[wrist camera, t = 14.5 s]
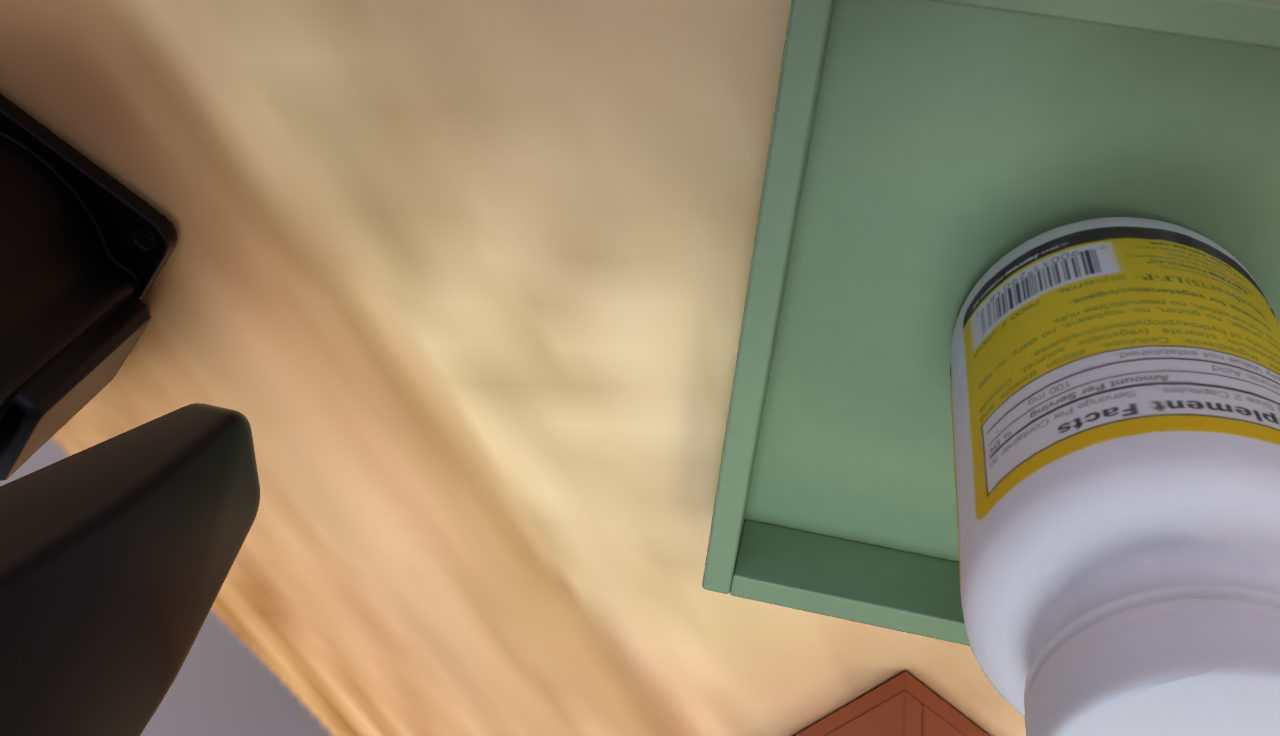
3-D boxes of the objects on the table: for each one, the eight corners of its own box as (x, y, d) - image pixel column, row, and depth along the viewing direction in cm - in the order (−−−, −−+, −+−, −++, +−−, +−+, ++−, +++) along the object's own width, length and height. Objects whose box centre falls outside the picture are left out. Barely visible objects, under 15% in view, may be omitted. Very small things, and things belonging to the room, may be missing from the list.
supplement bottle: (1194, 486, 22) (1344, 987, 14) (916, 422, 22) (908, 869, 14) (1328, 242, 19) (1619, 711, 11) (1001, 175, 19) (1050, 574, 11)
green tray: (718, 515, 26) (700, 589, 24) (814, -96, 18) (800, -59, 16) (1330, 639, 24) (1365, 730, 22) (1717, 22, 16) (1823, 78, 14)
